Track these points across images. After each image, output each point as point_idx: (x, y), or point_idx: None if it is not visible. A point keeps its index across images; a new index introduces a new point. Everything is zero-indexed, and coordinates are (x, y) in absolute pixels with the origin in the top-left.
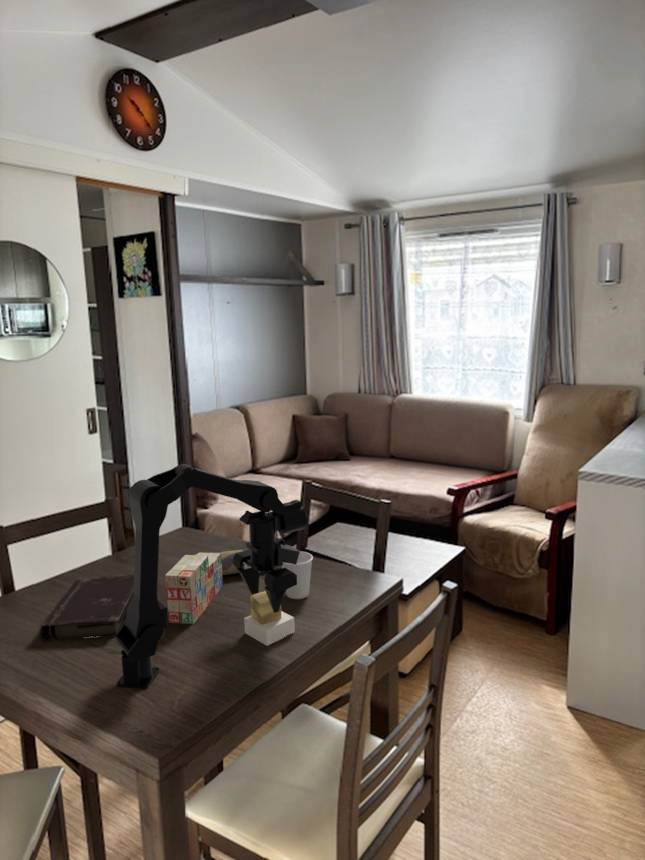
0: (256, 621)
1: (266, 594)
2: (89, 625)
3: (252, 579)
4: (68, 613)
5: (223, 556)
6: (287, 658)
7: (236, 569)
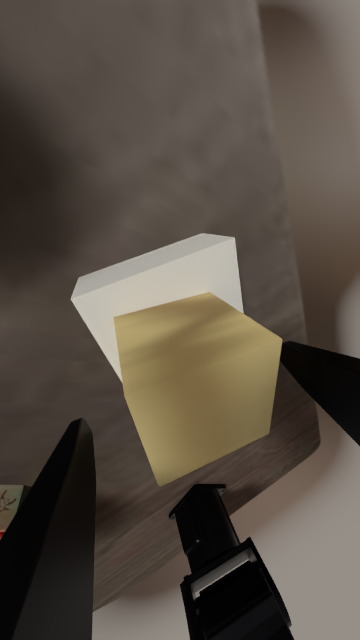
0: None
1: (194, 415)
2: None
3: (61, 637)
4: None
5: None
6: (290, 301)
7: None
